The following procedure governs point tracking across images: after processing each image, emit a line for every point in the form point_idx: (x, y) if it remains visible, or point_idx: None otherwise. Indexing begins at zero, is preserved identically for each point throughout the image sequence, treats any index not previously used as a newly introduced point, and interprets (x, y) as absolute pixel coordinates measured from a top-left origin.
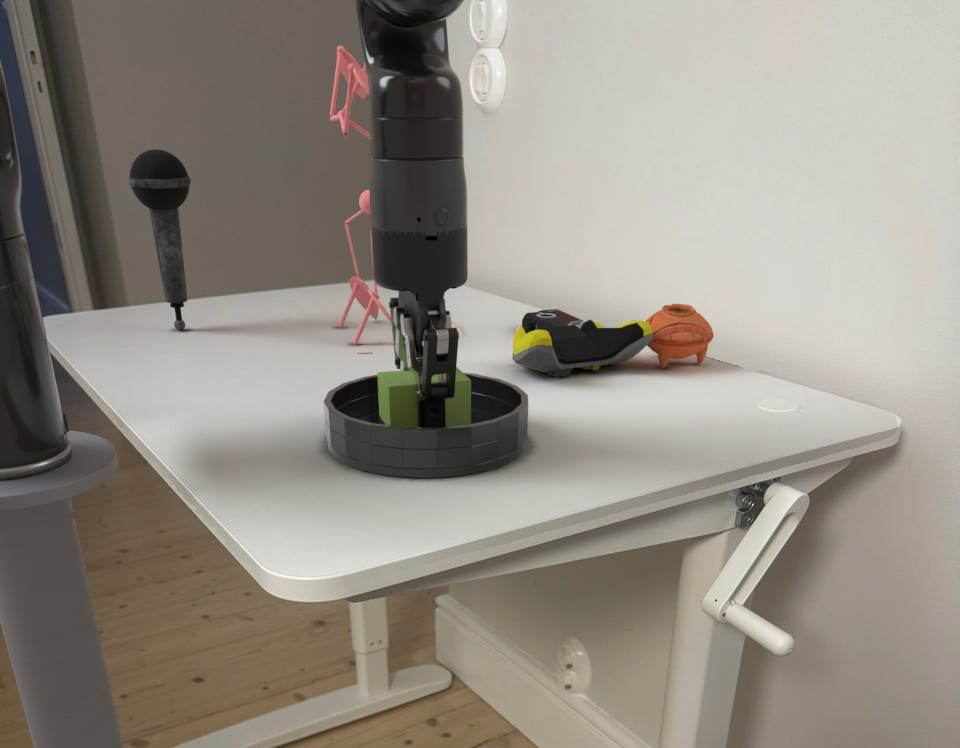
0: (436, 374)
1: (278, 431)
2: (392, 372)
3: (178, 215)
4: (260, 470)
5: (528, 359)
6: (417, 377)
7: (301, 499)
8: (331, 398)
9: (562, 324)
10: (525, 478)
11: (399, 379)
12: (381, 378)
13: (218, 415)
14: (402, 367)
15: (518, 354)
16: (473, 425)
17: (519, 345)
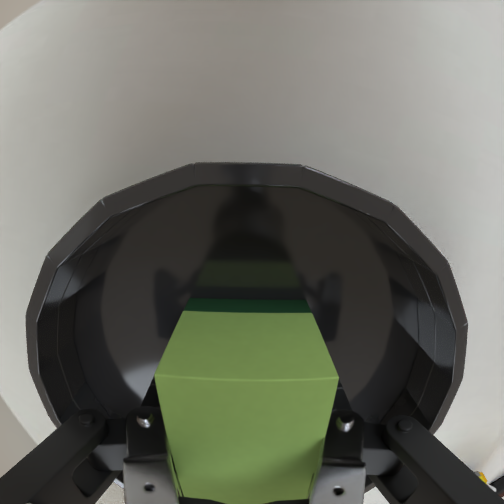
0: (251, 482)
1: (409, 98)
2: (317, 413)
3: None
4: (180, 27)
5: None
6: (135, 449)
7: (35, 100)
8: (321, 195)
9: (498, 494)
10: None
11: (227, 417)
12: (267, 378)
13: (493, 46)
14: (338, 440)
15: None
16: (55, 424)
17: None
